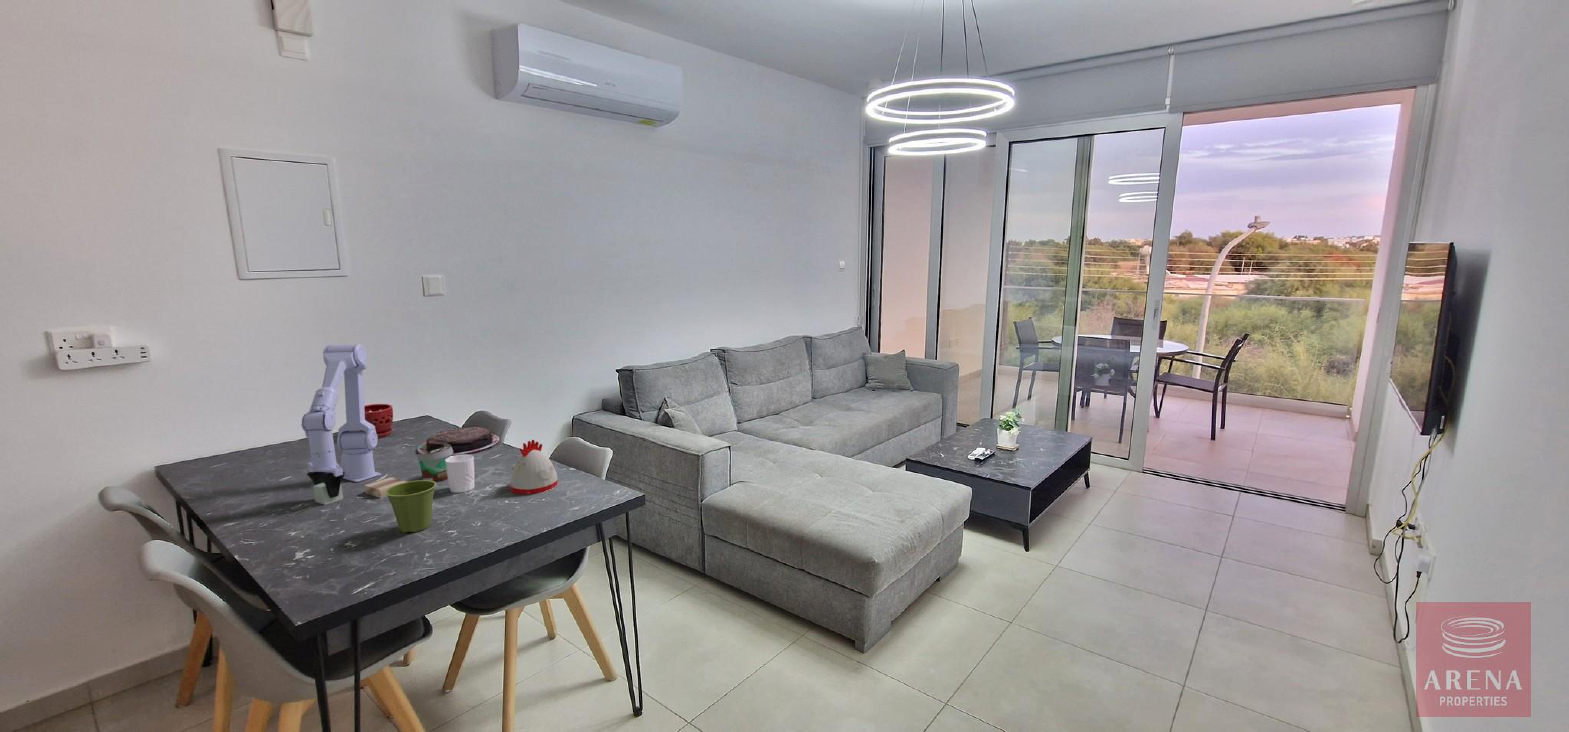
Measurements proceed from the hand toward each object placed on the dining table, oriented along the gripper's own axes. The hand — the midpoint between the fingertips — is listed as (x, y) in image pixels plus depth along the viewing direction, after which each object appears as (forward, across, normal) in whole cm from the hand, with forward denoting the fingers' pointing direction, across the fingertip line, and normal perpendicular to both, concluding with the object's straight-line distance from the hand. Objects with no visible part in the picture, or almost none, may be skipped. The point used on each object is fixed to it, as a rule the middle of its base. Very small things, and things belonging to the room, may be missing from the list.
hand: (328, 495), depth 185 cm
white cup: (+2, +27, +24) cm, 36 cm away
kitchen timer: (+2, +45, +36) cm, 58 cm away
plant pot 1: (+2, -56, +46) cm, 72 cm away
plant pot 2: (+2, +41, 0) cm, 41 cm away
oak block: (+2, +8, +12) cm, 15 cm away
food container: (+2, +13, +27) cm, 30 cm away
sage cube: (+2, 0, 0) cm, 2 cm away
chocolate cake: (+2, -14, +53) cm, 55 cm away
